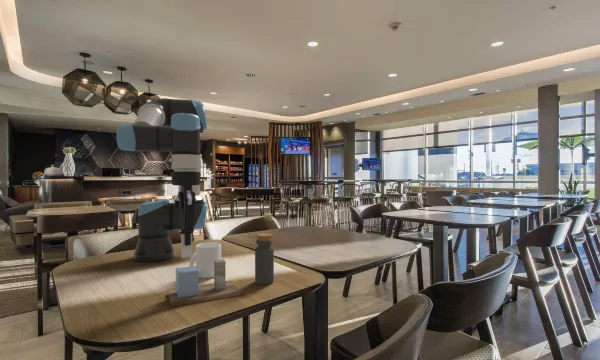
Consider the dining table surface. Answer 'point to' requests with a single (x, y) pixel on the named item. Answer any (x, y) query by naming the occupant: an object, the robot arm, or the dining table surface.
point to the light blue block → (187, 281)
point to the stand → (208, 288)
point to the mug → (206, 258)
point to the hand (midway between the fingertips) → (186, 256)
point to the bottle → (264, 260)
